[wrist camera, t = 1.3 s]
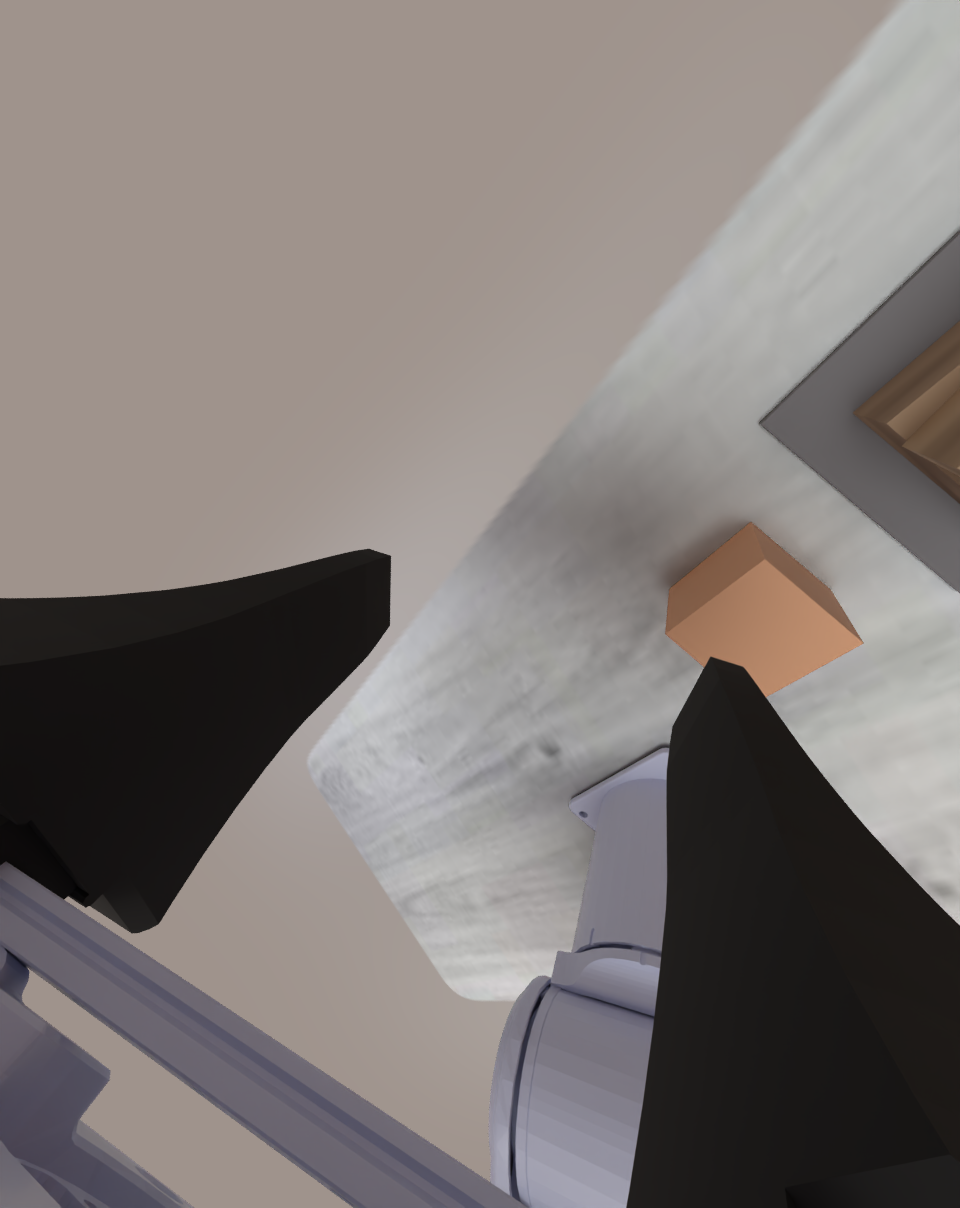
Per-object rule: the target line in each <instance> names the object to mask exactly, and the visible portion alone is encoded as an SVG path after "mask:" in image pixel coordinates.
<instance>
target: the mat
mask: <svg viewBox="0 0 960 1208" xmlns="http://www.w3.org/2000/svg"><path fill="white" fill-rule="evenodd" d="M959 321H960V231H959V232H958V233H956V234H955V235H954V236H953V237H952V238H951V239H950V240H949V241H948V242H947V243H946V244H945V245H944V246H943V247H942V248H941V249H940V250H939V251H938V252H937V253H936V254H935V255H934V256H933V257H931V258H930V259H929V260H928V261H927V262H926V263H925V264H924V265H923V266H922V267H921V268H920V269H919V270H918V271H917V272H916V273H915V274H914V275H913V276H912V277H911V278H910V279H909V280H908V281H907V282H905V283H904V284H903V285H902V286H901V287H900V288H899V289H898V290H897V291H896V292H895V293H894V294H893V295H892V296H891V297H890V298H889V299H888V300H887V301H886V302H885V303H884V304H883V305H882V306H881V307H879V308H878V309H877V310H876V311H875V312H874V313H873V314H872V315H871V316H870V317H869V318H868V319H867V320H866V321H865V322H864V323H863V324H862V325H861V326H860V327H859V328H858V329H857V330H856V331H854V332H853V333H852V334H851V335H850V336H849V337H848V338H847V339H846V340H845V341H844V342H843V343H842V344H841V345H840V346H839V347H838V348H837V349H836V350H835V351H834V352H833V353H832V354H831V355H830V356H828V357H827V358H826V359H825V360H824V361H823V362H822V363H821V364H820V365H819V366H818V367H817V368H816V369H815V370H814V371H813V372H812V373H811V374H810V375H809V376H808V377H807V378H806V379H805V380H804V381H802V382H801V383H800V384H799V385H798V386H797V387H796V388H795V389H794V390H793V391H792V392H791V393H790V394H789V395H788V396H787V397H786V398H785V399H784V400H783V401H782V402H781V403H780V404H779V405H778V406H776V407H775V408H774V409H773V410H772V411H771V412H770V413H769V414H768V415H767V416H766V417H765V418H764V419H763V420H762V421H761V422H760V424H761V425H762V426H763V427H765V428H766V429H767V430H768V431H769V432H770V433H772V434H773V435H774V436H775V437H776V438H777V439H779V440H780V441H781V442H782V443H783V444H785V445H786V446H787V447H788V448H789V449H790V450H792V451H793V452H794V453H795V454H796V455H798V456H799V457H800V458H801V459H802V460H803V461H805V462H806V463H807V464H808V465H809V466H810V467H812V468H813V469H814V470H815V471H816V472H818V473H819V474H820V475H821V476H822V477H823V478H825V479H826V480H827V481H828V482H829V483H830V484H832V485H833V486H834V487H835V488H836V489H838V490H839V491H840V492H841V493H842V494H843V495H845V496H846V497H847V498H848V499H849V500H851V501H852V502H853V503H854V504H855V505H856V506H858V507H859V508H860V509H861V510H862V511H863V512H865V513H866V514H867V515H868V516H869V517H871V518H872V519H873V520H874V521H875V522H876V523H878V524H879V525H880V526H881V527H882V528H884V529H885V530H886V531H887V532H888V533H889V534H891V535H892V536H893V537H894V538H895V539H896V540H898V541H899V542H900V543H901V544H902V545H904V546H905V547H906V548H907V549H908V550H909V551H911V552H912V553H913V554H914V555H915V556H916V557H918V558H919V559H920V560H921V561H922V562H924V563H925V564H926V565H927V566H928V567H929V568H931V569H932V570H933V571H934V572H935V573H937V574H938V575H939V576H940V577H941V578H942V579H944V580H945V581H946V582H947V583H948V584H949V585H951V586H952V587H953V588H954V589H955V590H957V591H958V592H959V593H960V504H959V503H958V502H957V501H956V500H954V499H953V498H952V497H951V496H950V495H949V494H947V493H946V492H945V491H944V490H943V489H941V488H940V487H939V486H938V485H937V484H936V483H934V482H933V481H932V480H931V479H930V478H929V477H927V476H926V475H925V474H924V473H923V472H921V471H920V470H919V469H918V468H917V467H916V466H914V465H913V464H912V463H911V462H910V461H908V460H907V459H906V458H905V457H904V456H903V455H901V454H900V453H899V452H898V451H897V450H896V449H894V448H893V447H892V446H891V445H890V444H888V443H887V442H886V441H885V440H884V439H883V438H881V437H880V436H879V435H878V434H877V433H875V432H874V431H873V430H872V429H871V428H870V427H868V426H867V425H866V424H865V423H864V422H862V421H861V420H860V419H859V418H858V417H857V416H855V415H854V414H853V412H854V411H855V410H856V409H857V408H859V407H860V406H861V405H862V404H863V403H864V402H866V401H867V400H868V399H869V398H870V397H871V396H873V395H874V394H875V393H876V392H877V391H878V390H880V389H881V388H882V387H883V386H884V385H885V384H887V383H888V382H889V381H890V380H891V379H892V378H894V377H895V376H896V375H897V374H898V373H899V372H901V371H902V370H903V369H904V368H905V367H906V366H908V365H909V364H910V363H911V362H912V361H913V360H915V359H916V358H917V357H918V356H919V355H920V354H922V353H923V352H924V351H925V350H926V349H927V348H929V347H930V346H931V345H932V344H933V343H934V342H936V341H937V340H938V339H939V338H940V337H941V336H942V335H944V334H945V333H946V332H947V331H948V330H949V329H951V328H952V327H953V326H954V325H955V324H956V323H958V322H959Z"/></svg>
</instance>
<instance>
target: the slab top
mask: <svg viewBox="0 0 960 1208" xmlns="http://www.w3.org/2000/svg"><path fill="white" fill-rule="evenodd" d="M902 447H904V448H906V449H908V450H910V451H912V452H914V453H916V454H918V455H919V456H921V457H923V458H925V459H927V460H929V461H931V462H933V463H935V464H937V465H938V466H940V467H942V468H944V469H946V470H948V471H950V472H952V473H954V474H956V475H957V476H959V477H960V388H959V389H958V390H957V391H956V392H955V393H954V394H953V395H952V396H951V397H950V398H949V399H948V400H947V401H946V402H945V403H944V404H943V405H942V406H941V407H940V408H939V409H938V410H937V411H936V412H935V413H934V414H933V415H932V416H931V417H930V418H929V419H928V420H927V421H926V422H925V423H924V424H923V425H922V426H921V427H920V428H919V429H918V430H917V431H916V432H915V433H914V434H913V435H912V436H911V437H910V438H909V439H908V440H907V441H906V442H905V443H904V444H903V445H902Z"/></svg>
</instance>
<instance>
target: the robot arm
mask: <svg viewBox="0 0 960 1208" xmlns="http://www.w3.org/2000/svg"><path fill="white" fill-rule="evenodd" d="M390 572H391V556H390V555H387V554H384V553H380V552H377V551H374V550H371V549H364V550H358V551H353V552H348V553H343V554H340V555H335V556H331V557H327V558H323V559H319V560H315V561H311V562H307V563H303V564H299V565H295V566H291V567H287V568H283V569H279V570H274V571H270V572H265V573H261V574H256V575H252V576H247V577H243V578H238V579H233V580H228V581H223V582H218V583H211V584H206V585H199V586H193V587H185V588H178V589H171V590H162V591H151V592H140V593H130V594H129V593H128V594H117V595H106V596H88V597H66V598H17V599H16V598H15V599H14V598H11V599H10V598H9V599H8V598H0V1208H194V1207H193V1206H191V1205H190V1204H189V1203H188V1202H186V1201H185V1200H183V1199H182V1198H181V1197H180V1196H178V1195H177V1194H176V1193H175V1192H173V1191H172V1190H171V1189H169V1188H168V1187H167V1186H165V1185H164V1184H163V1183H161V1182H160V1181H159V1180H158V1179H156V1178H155V1177H153V1176H152V1175H151V1174H150V1173H148V1172H147V1171H146V1170H145V1169H143V1168H142V1167H141V1166H139V1165H138V1164H137V1163H135V1162H134V1161H133V1160H132V1159H130V1158H129V1157H128V1156H126V1155H125V1154H124V1153H123V1152H121V1151H120V1150H119V1149H117V1148H116V1147H115V1146H113V1145H112V1144H111V1143H110V1142H108V1141H107V1140H106V1139H104V1138H103V1137H102V1136H101V1135H99V1134H98V1133H97V1132H95V1131H94V1130H93V1129H91V1128H90V1127H89V1126H88V1125H86V1124H85V1123H84V1122H82V1121H81V1120H80V1118H81V1117H82V1115H83V1114H84V1112H85V1111H86V1110H87V1109H88V1107H89V1106H90V1104H91V1103H92V1102H93V1101H94V1100H95V1098H96V1097H97V1096H98V1094H99V1093H100V1092H101V1091H102V1089H103V1088H104V1087H105V1085H106V1084H107V1083H108V1081H109V1079H110V1070H109V1069H108V1068H107V1067H105V1066H104V1065H103V1064H101V1063H100V1062H99V1061H98V1060H96V1059H95V1058H94V1057H93V1056H91V1055H90V1054H89V1053H88V1052H86V1051H85V1050H84V1049H82V1048H81V1047H80V1046H78V1045H77V1044H76V1043H74V1042H73V1041H72V1040H71V1039H69V1038H68V1037H67V1036H65V1035H64V1034H63V1033H61V1032H60V1031H59V1030H57V1029H56V1028H55V1027H53V1026H52V1025H51V1024H49V1023H48V1022H47V1021H45V1020H44V1019H43V1018H41V1017H40V1016H38V1015H37V1014H36V1013H35V1012H33V1011H32V1010H31V1009H29V1008H28V1007H27V1006H25V1004H24V1003H23V1002H22V993H23V990H24V988H25V986H26V984H27V982H28V978H29V970H28V968H29V969H30V970H32V971H33V972H34V973H36V974H37V975H38V976H40V977H41V978H43V979H44V980H45V981H46V982H48V983H49V984H51V985H52V986H53V987H55V988H56V989H57V990H59V991H60V992H61V993H63V994H65V995H66V996H67V997H69V998H70V999H71V1000H72V1001H74V1002H75V1003H77V1004H78V1005H79V1006H81V1007H82V1008H83V1009H85V1010H86V1011H87V1012H89V1013H90V1014H91V1015H93V1016H94V1017H95V1018H97V1019H98V1020H99V1021H101V1022H102V1023H104V1024H105V1025H106V1026H108V1027H109V1028H110V1029H112V1030H113V1031H114V1032H116V1033H117V1034H118V1035H120V1036H121V1037H123V1038H124V1039H125V1040H127V1041H128V1042H129V1043H131V1044H132V1045H133V1046H135V1047H136V1048H137V1049H139V1050H140V1051H142V1052H143V1053H144V1054H146V1055H147V1056H148V1057H150V1058H151V1059H152V1060H154V1061H155V1062H156V1063H158V1064H159V1065H161V1066H162V1067H163V1068H165V1069H166V1070H168V1071H169V1072H170V1073H171V1074H173V1075H174V1076H176V1077H177V1078H178V1079H180V1080H181V1081H182V1082H184V1083H185V1084H187V1085H188V1086H189V1087H190V1088H192V1089H193V1090H195V1091H196V1092H197V1093H199V1094H200V1095H201V1096H203V1097H204V1098H205V1099H207V1100H208V1101H210V1102H211V1103H212V1104H213V1105H215V1106H216V1107H218V1108H219V1109H220V1110H222V1111H223V1112H224V1113H226V1114H227V1115H229V1116H230V1117H231V1118H232V1119H234V1120H235V1121H237V1122H238V1123H239V1124H241V1125H242V1126H243V1127H245V1128H246V1129H248V1130H249V1131H250V1132H251V1133H253V1134H254V1135H256V1136H257V1137H258V1138H260V1139H261V1140H262V1141H264V1142H265V1143H266V1144H268V1145H269V1146H270V1147H272V1148H274V1149H275V1150H276V1151H277V1152H279V1153H280V1154H281V1155H283V1156H284V1157H285V1158H287V1159H288V1160H290V1161H291V1162H292V1163H294V1164H295V1165H296V1166H298V1167H299V1168H300V1169H302V1170H303V1171H305V1172H306V1173H307V1174H309V1175H310V1176H311V1177H313V1178H314V1179H315V1180H317V1181H318V1182H319V1183H321V1184H322V1185H324V1186H325V1187H326V1188H328V1189H329V1190H330V1191H332V1192H333V1193H334V1194H336V1195H337V1196H339V1197H340V1198H341V1199H342V1200H344V1201H345V1202H347V1203H348V1204H349V1205H351V1206H352V1207H353V1208H960V925H959V924H957V923H956V922H955V921H954V920H953V919H952V918H951V917H950V916H949V915H948V914H947V913H946V912H945V911H944V910H943V909H942V908H941V907H940V906H939V905H938V904H937V903H936V902H935V901H934V900H933V899H932V898H931V897H930V896H929V895H928V894H927V893H926V892H925V890H924V889H923V888H922V887H921V886H920V885H919V884H918V883H917V882H916V881H915V880H914V879H913V878H912V877H911V876H910V875H909V874H908V873H907V872H906V870H905V869H904V868H903V867H902V866H901V865H900V864H899V863H898V862H897V861H896V860H895V859H894V857H893V856H892V855H891V854H890V853H889V852H888V851H887V850H886V849H885V848H884V847H883V846H882V844H881V843H880V842H879V841H878V840H877V839H876V838H875V837H874V836H873V835H872V834H871V832H870V831H869V830H868V829H867V828H866V827H865V826H864V824H863V823H862V822H861V821H860V820H859V819H858V818H857V816H856V815H855V814H854V813H853V812H852V810H851V809H850V808H849V807H848V806H847V804H846V803H845V802H844V801H843V799H842V798H841V797H840V796H839V795H838V793H837V792H836V791H835V790H834V788H833V787H832V786H831V785H830V783H829V782H828V781H827V780H826V779H825V777H824V776H823V775H822V774H821V772H820V771H819V770H818V768H817V767H816V766H815V764H814V763H813V762H812V761H811V759H810V758H809V757H808V755H807V754H806V753H805V751H804V750H803V749H802V747H801V746H800V745H799V743H798V742H797V740H796V739H795V738H794V736H793V735H792V734H791V732H790V731H789V729H788V728H787V727H786V725H785V724H784V722H783V721H782V720H781V718H780V717H779V715H778V714H777V713H776V711H775V710H774V708H773V707H772V705H771V704H770V703H769V701H768V700H767V698H766V697H765V695H764V694H763V693H762V691H761V690H760V688H759V687H758V685H757V684H756V683H755V681H754V680H753V678H752V677H751V676H750V674H749V673H748V672H747V670H746V669H745V668H744V667H743V666H739V665H736V664H733V663H730V662H727V661H724V660H720V659H717V658H714V657H711V656H710V658H709V660H708V662H707V664H706V666H705V667H704V669H703V671H702V673H701V675H700V677H699V679H698V680H697V682H696V684H695V686H694V688H693V690H692V692H691V693H690V695H689V697H688V699H687V701H686V703H685V705H684V706H683V708H682V710H681V712H680V714H679V716H678V717H677V719H676V721H675V723H674V725H673V727H672V734H671V741H670V748H662V749H659V750H657V751H656V752H654V753H652V754H650V755H649V756H647V757H645V758H643V759H642V760H640V761H638V762H636V763H634V764H633V765H631V766H629V767H627V768H626V769H624V770H622V771H620V772H619V773H617V774H615V775H613V776H612V777H610V778H608V779H606V780H604V781H603V782H601V783H599V784H597V785H596V786H594V787H592V788H590V789H589V790H587V791H585V792H583V793H581V794H580V795H578V796H576V797H574V798H573V799H571V800H570V803H569V808H570V810H571V811H572V812H573V813H574V814H575V815H577V816H578V817H579V818H580V819H581V820H582V821H584V822H585V823H586V824H587V825H588V826H589V827H591V828H592V829H593V830H594V831H595V837H594V842H593V847H592V852H591V857H590V862H589V867H588V872H587V877H586V882H585V887H584V892H583V898H582V903H581V908H580V913H579V918H578V923H577V928H576V933H575V938H574V943H573V948H572V953H568V952H563V951H558V952H557V956H556V961H555V965H554V970H553V974H552V978H550V977H548V976H538V977H536V978H535V979H533V980H532V981H531V982H530V984H529V985H528V986H527V987H526V989H525V990H524V991H523V992H522V993H521V994H520V996H519V997H518V998H517V1000H516V1002H515V1003H514V1005H513V1007H512V1009H511V1011H510V1014H509V1016H508V1019H507V1021H506V1024H505V1027H504V1030H503V1033H502V1037H501V1041H500V1044H499V1048H498V1053H497V1057H496V1062H495V1068H494V1073H493V1080H492V1087H491V1095H490V1107H489V1146H490V1155H491V1174H490V1182H489V1181H487V1180H486V1179H484V1178H483V1177H481V1176H480V1175H478V1174H477V1173H475V1172H474V1171H472V1170H471V1169H469V1168H468V1167H466V1166H465V1165H463V1164H462V1163H460V1162H458V1161H457V1160H456V1159H454V1158H452V1157H451V1156H450V1155H448V1154H447V1153H445V1152H444V1151H442V1150H440V1149H439V1148H438V1147H436V1146H434V1145H433V1144H431V1143H430V1142H428V1141H427V1140H425V1139H424V1138H422V1137H421V1136H419V1135H418V1134H416V1133H415V1132H413V1131H412V1130H410V1129H409V1128H407V1127H406V1126H404V1125H403V1124H401V1123H400V1122H398V1121H397V1120H395V1119H394V1118H392V1117H391V1116H389V1115H388V1114H386V1113H385V1112H383V1111H382V1110H380V1109H379V1108H377V1107H376V1106H374V1105H372V1104H371V1103H370V1102H368V1101H366V1100H365V1099H364V1098H362V1097H361V1096H359V1095H358V1094H356V1093H355V1092H353V1091H351V1090H350V1089H349V1088H347V1087H346V1086H344V1085H342V1084H341V1083H339V1082H338V1081H336V1080H335V1079H333V1078H332V1077H330V1076H329V1075H327V1074H326V1073H324V1072H323V1071H321V1070H320V1069H318V1068H317V1067H315V1066H314V1065H312V1064H311V1063H309V1062H308V1061H306V1060H305V1059H303V1058H302V1057H300V1056H299V1055H297V1054H296V1053H294V1052H292V1051H291V1050H289V1049H288V1048H287V1047H285V1046H283V1045H282V1044H281V1043H279V1042H278V1041H276V1040H275V1039H273V1038H272V1037H270V1036H269V1035H267V1034H265V1033H264V1032H263V1031H261V1030H260V1029H258V1028H257V1027H255V1026H254V1025H252V1024H251V1023H249V1022H247V1021H246V1020H244V1019H243V1018H241V1017H240V1016H238V1015H237V1014H235V1013H234V1012H232V1011H231V1010H229V1009H228V1008H226V1007H225V1006H223V1005H222V1004H220V1003H219V1002H217V1001H216V1000H214V999H213V998H211V997H210V996H208V995H207V994H205V993H204V992H202V991H201V990H199V989H198V988H196V987H195V986H193V985H192V984H190V983H189V982H187V981H186V980H184V979H182V978H181V977H180V976H178V975H177V974H175V973H173V972H172V971H170V970H169V969H168V968H166V967H164V966H163V965H162V964H160V963H158V962H157V961H155V960H154V959H152V958H151V957H149V956H148V955H146V954H145V953H143V952H142V951H140V950H139V949H137V948H136V947H134V946H133V945H131V944H130V943H128V942H127V941H125V940H124V939H122V938H121V937H119V936H118V935H116V934H115V933H113V932H112V931H110V930H109V929H107V928H106V927H104V926H103V925H101V924H100V923H98V922H97V921H95V920H94V919H92V918H91V917H89V916H87V915H86V914H85V913H83V912H81V911H80V910H79V909H77V908H76V907H74V906H73V905H71V904H70V903H68V902H66V901H65V900H64V899H65V898H66V897H67V896H69V897H70V898H72V899H74V900H75V901H76V902H78V903H79V904H81V905H82V906H84V907H88V906H91V907H92V908H94V909H96V910H97V911H98V912H100V913H102V914H103V915H105V916H106V917H108V918H109V919H111V920H112V921H114V922H115V923H117V924H118V925H120V926H121V927H123V928H124V929H126V930H128V931H129V932H131V933H139V932H142V931H145V930H148V929H150V928H152V927H154V926H156V925H158V924H159V923H160V921H161V920H162V918H163V916H164V915H165V913H166V912H167V910H168V908H169V907H170V905H171V903H172V902H173V900H174V899H175V897H176V896H177V894H178V893H179V891H180V890H181V888H182V887H183V885H184V883H185V882H186V880H187V879H188V877H189V876H190V874H191V873H192V871H193V870H194V868H195V866H196V865H197V863H198V862H199V860H200V859H201V857H202V856H203V854H204V853H205V851H206V850H207V848H208V847H209V846H210V844H211V843H212V841H213V840H214V838H215V837H216V836H217V834H218V833H219V831H220V830H221V828H222V827H223V826H224V824H225V823H226V821H227V820H228V818H229V817H230V816H231V814H232V813H233V811H234V810H235V808H236V807H237V806H238V804H239V803H240V802H241V800H242V799H243V798H244V796H245V795H246V794H247V792H248V791H249V790H250V788H251V787H252V785H253V784H254V783H255V781H256V780H257V779H258V778H259V776H260V775H261V774H262V772H263V771H264V769H265V768H266V767H267V766H268V764H269V763H270V762H271V761H272V759H273V758H274V757H275V756H276V754H277V753H278V752H279V751H280V749H281V748H282V747H283V746H284V744H285V743H286V742H287V740H288V739H289V738H290V737H291V736H292V735H293V733H294V732H295V731H296V730H297V729H298V728H299V727H300V726H301V724H302V723H303V722H304V721H305V720H306V719H307V718H308V717H309V716H310V715H311V714H312V713H313V712H314V711H315V710H316V709H317V708H318V707H319V706H320V705H321V704H322V703H323V701H325V700H326V699H327V698H328V697H329V696H330V695H331V694H332V693H333V691H335V690H336V688H337V687H338V686H339V685H340V684H341V683H342V682H343V681H344V680H345V679H346V678H347V677H348V676H349V675H350V674H351V673H352V672H353V671H354V670H355V669H356V668H357V667H358V666H359V665H360V664H361V663H362V662H363V660H364V659H365V658H366V657H367V656H368V655H369V653H370V652H371V651H372V650H373V648H374V647H375V646H376V644H377V643H378V642H379V640H380V639H381V637H382V636H383V634H384V633H385V632H386V630H387V629H388V627H389V626H390V580H391V579H390V578H391V573H390Z"/></svg>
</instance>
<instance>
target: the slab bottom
mask: <svg viewBox="0 0 960 1208" xmlns="http://www.w3.org/2000/svg"><path fill="white" fill-rule="evenodd" d="M959 388H960V321H959V322H958V323H956V324H955V325H954V326H953V327H952V328H951V329H949V330H948V331H947V332H946V333H945V334H944V335H942V336H941V337H940V338H939V339H938V340H937V341H936V342H934V343H933V344H932V345H931V346H930V347H929V348H927V349H926V350H925V351H924V352H923V353H922V354H920V355H919V356H918V357H917V358H916V359H915V360H913V361H912V362H911V363H910V364H909V365H908V366H906V367H905V368H904V369H903V370H902V371H901V372H899V373H898V374H897V375H896V376H895V377H894V378H892V379H891V380H890V381H889V382H888V383H887V384H885V385H884V386H883V387H882V388H881V389H880V390H878V391H877V392H876V393H875V394H874V395H873V396H871V397H870V398H869V399H868V400H867V401H866V402H864V403H863V404H862V405H861V406H860V407H859V408H857V409H856V410H855V411H854V412H853V414H854V415H855V416H857V417H858V418H859V419H860V420H861V421H862V422H864V423H865V424H866V425H867V426H868V427H870V428H871V429H872V430H873V431H874V432H875V433H877V434H878V435H879V436H880V437H881V438H883V439H884V440H885V441H886V442H887V443H888V444H890V445H891V446H892V447H893V448H894V449H896V450H897V451H898V452H899V453H900V454H901V455H903V456H904V457H905V458H906V459H907V460H908V461H910V462H911V463H912V464H913V465H914V466H916V467H917V468H918V469H919V470H920V471H921V472H923V473H924V474H925V475H926V476H927V477H929V478H930V479H931V480H932V481H933V482H934V483H936V484H937V485H938V486H939V487H940V488H941V489H943V490H944V491H945V492H946V493H947V494H949V495H950V496H951V497H952V498H953V499H954V500H956V501H957V502H958V503H959V504H960V477H959V476H957V475H956V474H954V473H952V472H950V471H948V470H946V469H944V468H942V467H940V466H938V465H937V464H935V463H933V462H931V461H929V460H927V459H925V458H923V457H921V456H919V455H918V454H916V453H914V452H912V451H910V450H908V449H906V448H904V447H902V445H903V444H904V443H905V442H906V441H907V440H908V439H909V438H910V437H911V436H912V435H913V434H914V433H915V432H916V431H917V430H918V429H919V428H920V427H921V426H922V425H923V424H924V423H925V422H926V421H927V420H928V419H929V418H930V417H931V416H932V415H933V414H934V413H935V412H936V411H937V410H938V409H939V408H940V407H941V406H942V405H943V404H944V403H945V402H946V401H947V400H948V399H949V398H950V397H951V396H952V395H953V394H954V393H955V392H956V391H957V390H958V389H959Z"/></svg>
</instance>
